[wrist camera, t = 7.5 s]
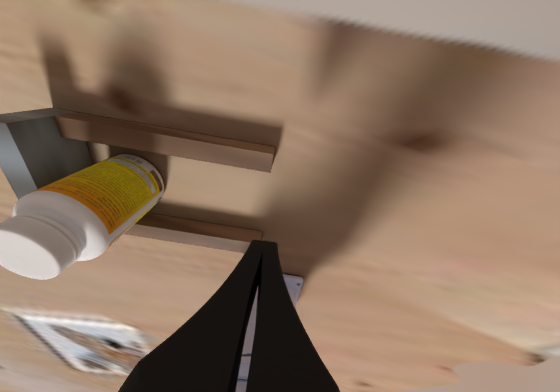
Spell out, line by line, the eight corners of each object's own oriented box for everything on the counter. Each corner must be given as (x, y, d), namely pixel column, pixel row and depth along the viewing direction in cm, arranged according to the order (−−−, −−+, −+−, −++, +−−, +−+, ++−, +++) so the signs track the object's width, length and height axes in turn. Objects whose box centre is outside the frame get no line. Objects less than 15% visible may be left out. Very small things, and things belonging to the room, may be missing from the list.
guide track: (260, 242, 24) (253, 279, 19) (91, 215, 23) (44, 247, 19) (275, 146, 18) (269, 168, 14) (52, 107, 17) (-28, 117, 13)
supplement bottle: (112, 140, 19) (-52, 198, 10) (172, 169, 20) (74, 244, 11) (106, 188, 21) (-28, 268, 12) (160, 211, 22) (73, 300, 13)
